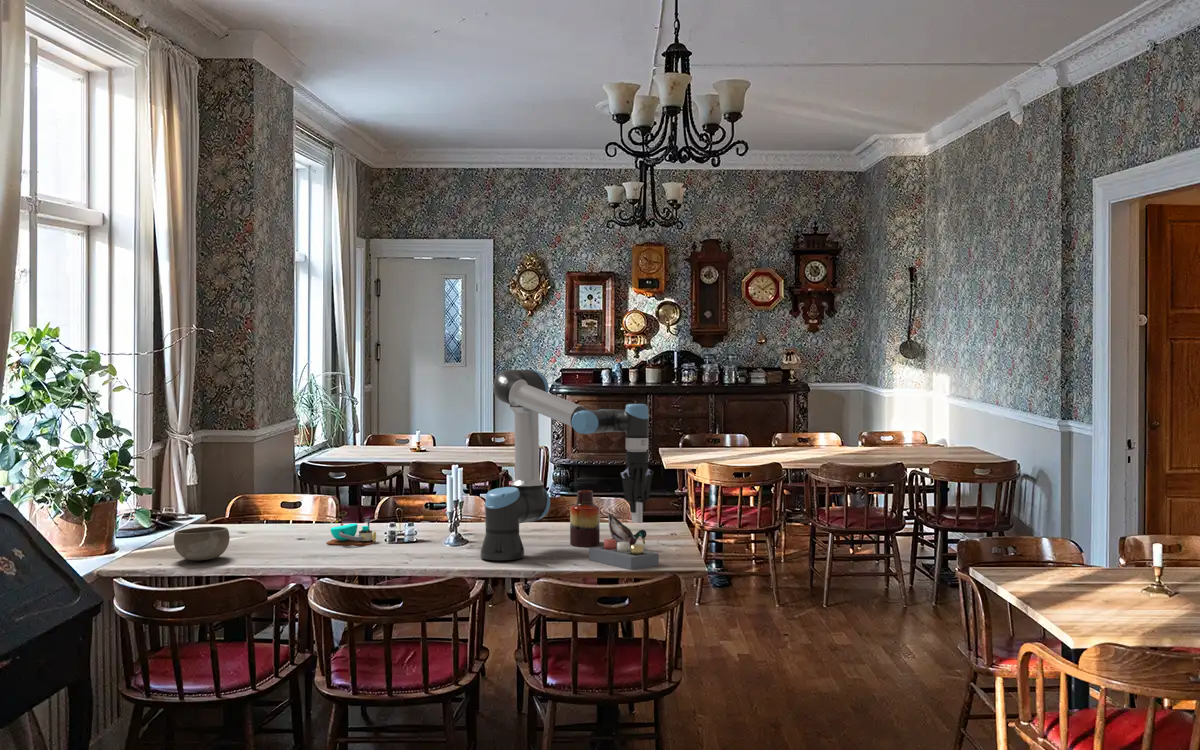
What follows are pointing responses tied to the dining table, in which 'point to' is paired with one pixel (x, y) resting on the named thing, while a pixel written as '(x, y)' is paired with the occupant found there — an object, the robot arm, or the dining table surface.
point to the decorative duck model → (623, 532)
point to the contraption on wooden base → (351, 534)
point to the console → (623, 558)
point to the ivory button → (623, 547)
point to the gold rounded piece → (636, 550)
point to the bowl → (201, 542)
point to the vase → (584, 521)
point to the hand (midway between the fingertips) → (636, 522)
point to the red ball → (609, 544)
